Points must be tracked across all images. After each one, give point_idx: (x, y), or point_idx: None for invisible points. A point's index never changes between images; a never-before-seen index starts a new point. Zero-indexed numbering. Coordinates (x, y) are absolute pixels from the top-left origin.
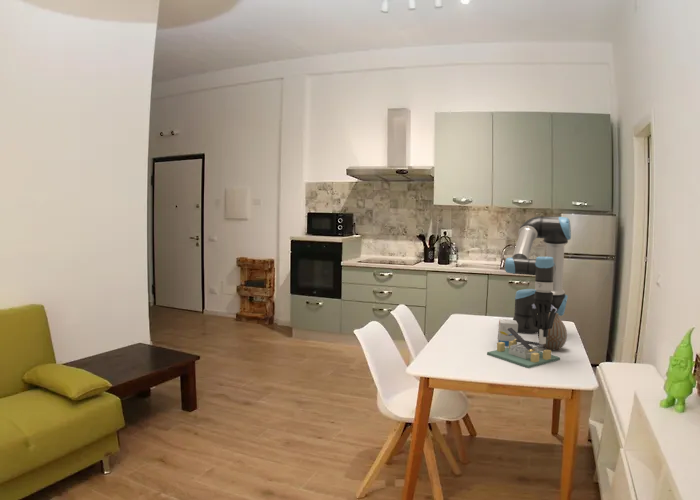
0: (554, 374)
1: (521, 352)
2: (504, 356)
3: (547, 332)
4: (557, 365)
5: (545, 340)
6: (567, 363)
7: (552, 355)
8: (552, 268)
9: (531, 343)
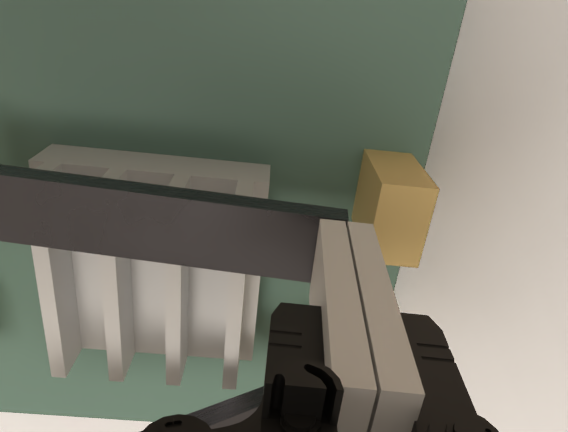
0: (535, 395)
1: (191, 342)
2: (118, 399)
3: (460, 382)
4: (493, 202)
5: (377, 257)
6: (557, 58)
7: (372, 6)
8: None
9: (187, 260)
